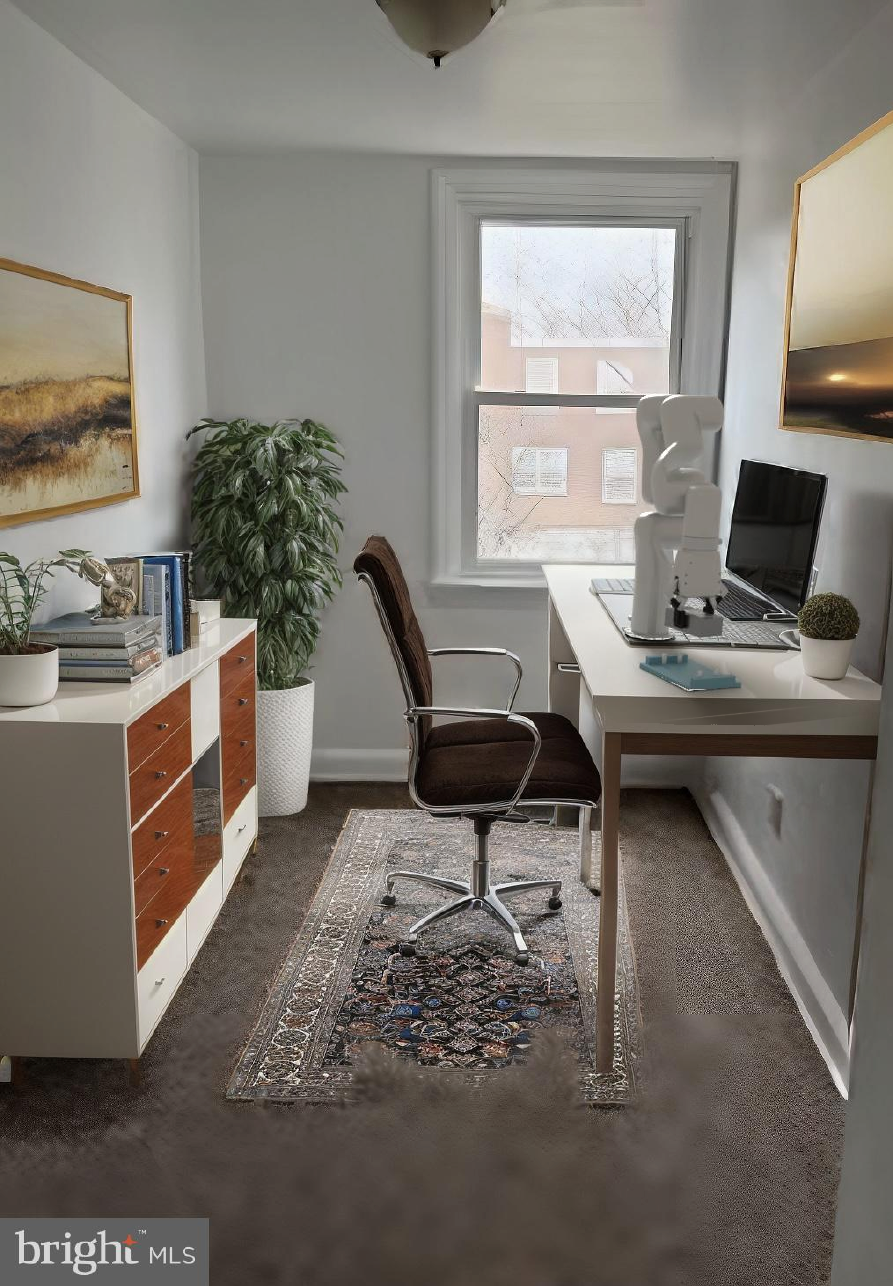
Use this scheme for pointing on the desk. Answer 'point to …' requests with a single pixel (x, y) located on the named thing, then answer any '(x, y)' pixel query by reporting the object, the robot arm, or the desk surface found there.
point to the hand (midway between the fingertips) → (693, 625)
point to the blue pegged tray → (687, 672)
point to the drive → (696, 622)
